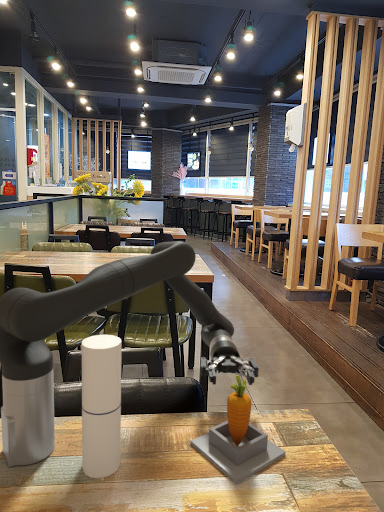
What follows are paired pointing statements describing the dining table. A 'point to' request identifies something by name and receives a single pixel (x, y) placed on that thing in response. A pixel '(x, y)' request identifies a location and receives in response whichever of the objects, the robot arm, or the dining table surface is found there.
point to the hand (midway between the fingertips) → (232, 381)
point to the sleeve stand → (238, 451)
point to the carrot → (238, 411)
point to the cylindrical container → (101, 405)
